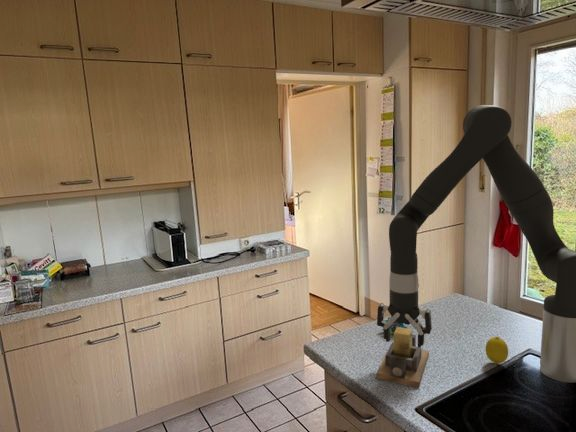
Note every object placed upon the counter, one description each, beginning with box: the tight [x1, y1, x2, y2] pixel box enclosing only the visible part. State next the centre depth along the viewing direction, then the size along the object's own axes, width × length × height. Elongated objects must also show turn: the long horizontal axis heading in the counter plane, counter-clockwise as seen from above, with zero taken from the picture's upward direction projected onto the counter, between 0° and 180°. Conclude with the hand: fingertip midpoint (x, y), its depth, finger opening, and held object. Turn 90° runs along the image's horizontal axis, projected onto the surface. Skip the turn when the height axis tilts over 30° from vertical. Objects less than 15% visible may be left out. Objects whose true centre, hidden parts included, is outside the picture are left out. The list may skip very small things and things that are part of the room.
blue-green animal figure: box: [383, 316, 406, 335], centre depth 133 cm, size 11×6×10 cm
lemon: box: [485, 336, 509, 365], centre depth 110 cm, size 6×6×8 cm
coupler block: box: [393, 326, 413, 358], centre depth 111 cm, size 4×4×9 cm
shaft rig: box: [375, 334, 430, 388], centre depth 111 cm, size 11×17×6 cm, turn 153°
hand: (403, 343), depth 111 cm, fingers open, 8 cm apart
